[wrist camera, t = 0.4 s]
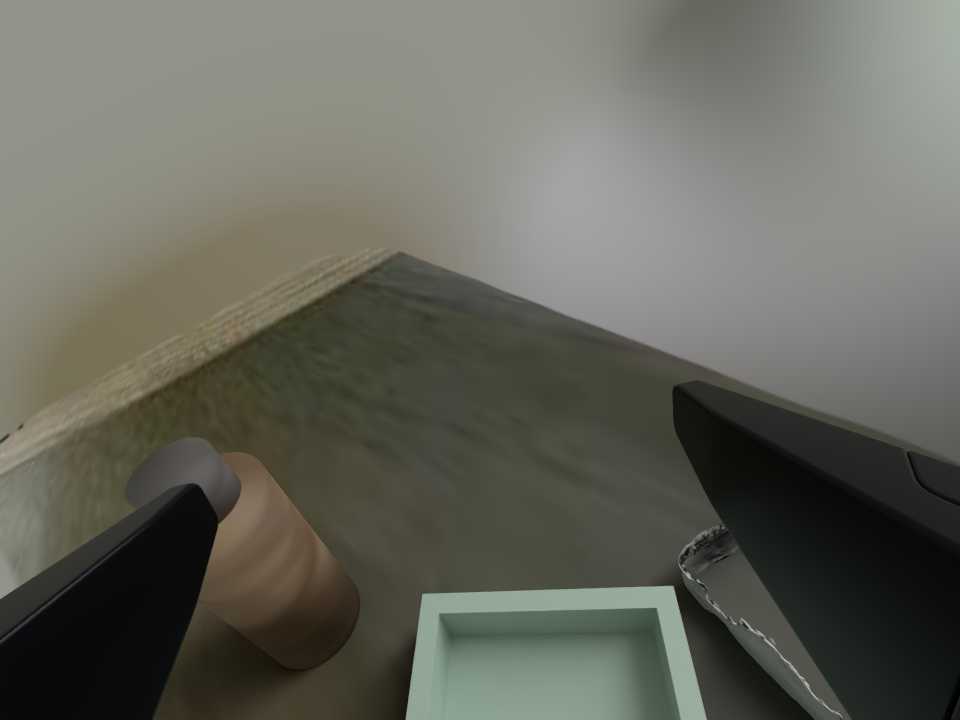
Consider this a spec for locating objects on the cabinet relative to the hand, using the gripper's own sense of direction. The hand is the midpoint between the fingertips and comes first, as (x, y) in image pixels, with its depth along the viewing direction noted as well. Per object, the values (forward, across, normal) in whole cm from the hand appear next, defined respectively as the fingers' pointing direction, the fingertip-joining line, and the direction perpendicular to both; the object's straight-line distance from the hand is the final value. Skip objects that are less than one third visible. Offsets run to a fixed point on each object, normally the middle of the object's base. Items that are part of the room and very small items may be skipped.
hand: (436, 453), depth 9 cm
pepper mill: (+9, +10, +14) cm, 20 cm away
